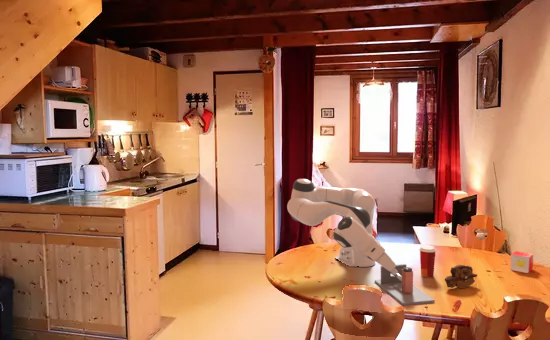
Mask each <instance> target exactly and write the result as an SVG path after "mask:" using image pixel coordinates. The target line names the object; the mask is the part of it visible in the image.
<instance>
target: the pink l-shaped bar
mask: <svg viewBox="0 0 550 340" xmlns="http://www.w3.org/2000/svg"><path fill="white" fill-rule="evenodd" d="M391 276H395V277H396V278H398V279H399V280H400V281H402V292H404V293H405V294H409V293H413V285H414V270H413V268H412V267H407V266H406V267H404V268H403V270H402V276H401V275H400V274H398V273H397V274H394V273H392V272H391Z"/></svg>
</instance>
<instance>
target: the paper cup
mask: <svg viewBox="0 0 550 340" xmlns="http://www.w3.org/2000/svg"><path fill="white" fill-rule="evenodd" d="M418 251H419V255H420V256H419V257H420V258H419V259H420V276H421V277H423V278H433V277H434V273H435V272H434V271H435V261H436V252H437V250H436V248H435V246H433V245H432V246H431V245H421V246H420V247H419V249H418Z"/></svg>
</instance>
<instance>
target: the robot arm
mask: <svg viewBox="0 0 550 340" xmlns="http://www.w3.org/2000/svg"><path fill="white" fill-rule="evenodd" d="M375 206H376V202H375V198H374V197H373V195H372V194H371V193H369V192H368V191H366V190H365V188H364V189H362V188H356V187H355V188H353V187H350V188H349V187H345V188H344V187H335V186H334V187H333V186H323V185H317V186H316V185H314V183H313V182H312V181H311V180H309V179H307V178H298V179H296V180H295V181H294V182H293V185H292V190H291V196H290V199H289V200H288V201H287V205H286V208H287V212H288V213H289V215H290V217H291V218H292V219H293V220H294V221H296V222H300V223H301V224H303V225H306V226H311V227H313V226H317V225H320V224H321V223H322V222H323V221H326V219H328V218H329V217H331V216H334V215H339V216H343V218H342V219H341V220H340V221H338V224H337V227H336V228H335V229H334V231H333V233H332V235H333V240H335V242H337V243H338V245H340V246H341V247H340V249H339V254H338V255H336V256H335V257H334V259H335V258H336V259H338V260H339V261H341V262H343V263H345V264H346V266H347V265H349V266H348V267H357V266H359V268H366V267H367V268H368V267H372V266H374V265H376V263H377V264H379V265H380V266H383V267H384V268H385V269H387V270H388V271H390V272H392V273H394V274H397V273H398V271H397V270H396V269H395V267H396V265H397V264H396V263H395V262H394V261H393V259H392V258H391V256H390V255H389V254H388V253H387V252H386V249H385V248H384V247H383V246H382V245H381V243H380V242H379V241H378V240H377V239H376V238H375V237H374V236H373V220H374V214H375ZM336 259H335V260H336ZM339 261H338V262H339ZM341 262H340V263H341ZM343 263H342V264H343ZM345 264H344V265H345Z"/></svg>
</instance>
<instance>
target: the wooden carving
mask: <svg viewBox="0 0 550 340" xmlns="http://www.w3.org/2000/svg"><path fill="white" fill-rule="evenodd" d="M450 274H451V275H447V276H446V277H445V278H444V282H445V283H446V287H447V288H450V289H453V288H455V287H457V288H460V289H465V288H469V287H470V286H472V285H473V284H474V283H475V282H476V281H475V279H474V278H476V277H478V274H475V273H473V267H472V266H470V265H464V264H458V265H455V266H454V267H450Z"/></svg>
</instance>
